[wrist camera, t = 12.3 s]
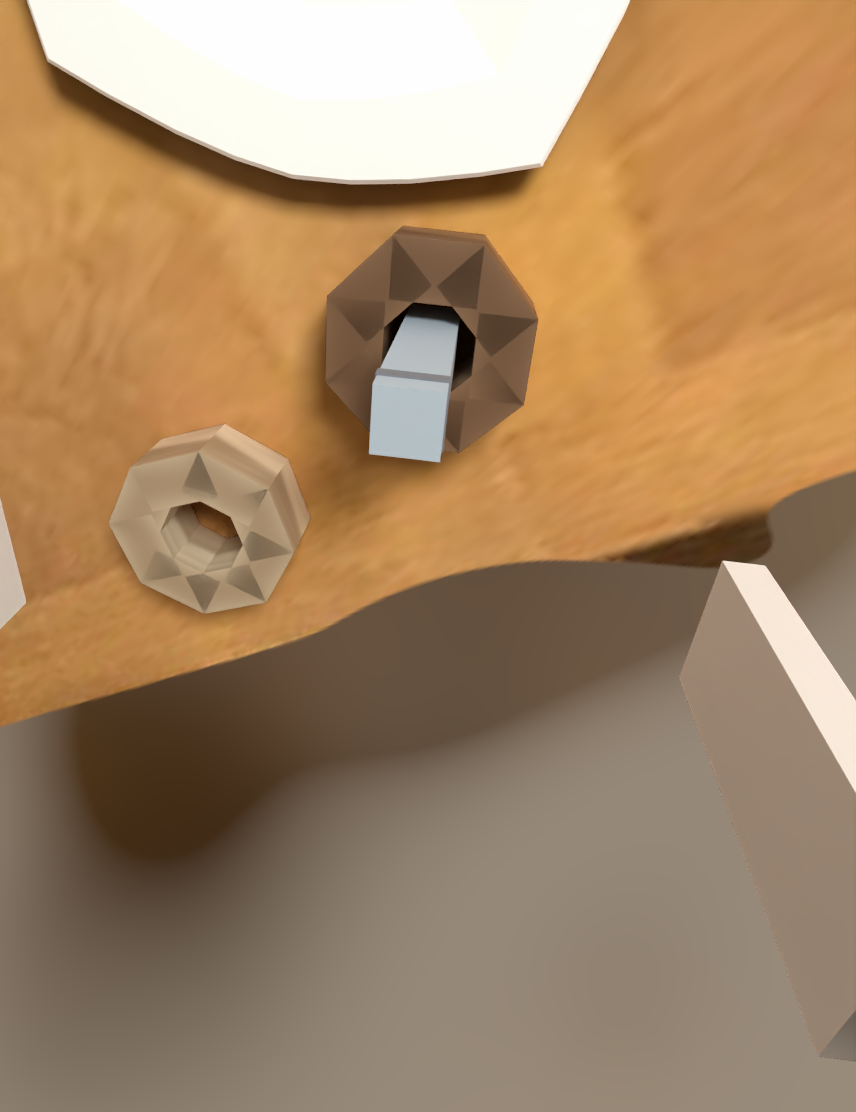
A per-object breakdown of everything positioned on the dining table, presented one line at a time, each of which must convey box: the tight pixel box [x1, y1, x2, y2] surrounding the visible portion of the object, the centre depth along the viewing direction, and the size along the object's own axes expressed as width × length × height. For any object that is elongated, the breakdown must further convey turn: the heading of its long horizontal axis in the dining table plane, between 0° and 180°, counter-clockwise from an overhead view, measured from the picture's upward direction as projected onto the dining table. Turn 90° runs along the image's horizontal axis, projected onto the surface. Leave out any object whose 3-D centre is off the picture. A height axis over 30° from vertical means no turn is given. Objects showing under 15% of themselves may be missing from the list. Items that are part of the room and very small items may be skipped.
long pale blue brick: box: [369, 304, 460, 462], centre depth 26 cm, size 2×2×12 cm
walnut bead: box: [325, 226, 538, 453], centre depth 29 cm, size 8×8×4 cm
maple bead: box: [109, 424, 311, 614], centre depth 35 cm, size 8×8×4 cm
